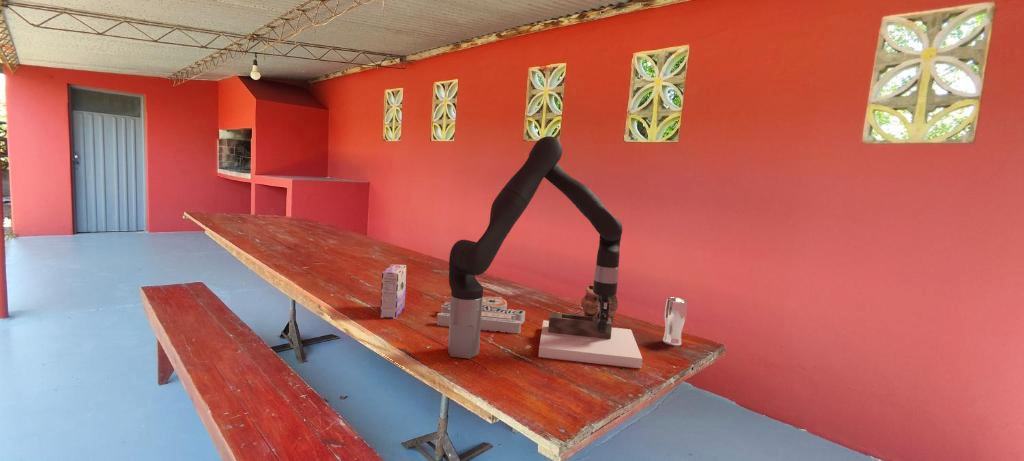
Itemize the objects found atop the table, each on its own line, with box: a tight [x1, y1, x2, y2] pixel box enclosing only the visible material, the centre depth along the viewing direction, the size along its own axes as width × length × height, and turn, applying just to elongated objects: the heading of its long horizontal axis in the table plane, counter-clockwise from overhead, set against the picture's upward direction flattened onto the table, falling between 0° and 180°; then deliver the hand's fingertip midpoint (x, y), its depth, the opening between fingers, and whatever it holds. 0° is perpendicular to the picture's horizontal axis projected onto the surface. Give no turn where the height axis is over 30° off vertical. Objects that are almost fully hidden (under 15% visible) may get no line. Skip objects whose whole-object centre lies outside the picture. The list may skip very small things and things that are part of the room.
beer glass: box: [662, 296, 688, 347], centre depth 166 cm, size 7×7×15 cm
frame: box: [548, 311, 613, 339], centre depth 161 cm, size 20×6×5 cm, turn 84°
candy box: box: [379, 263, 407, 320], centre depth 176 cm, size 14×6×16 cm, turn 0°
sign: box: [436, 296, 526, 334], centre depth 181 cm, size 30×4×30 cm
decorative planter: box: [580, 285, 619, 323], centre depth 180 cm, size 20×12×14 cm, turn 148°
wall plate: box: [538, 320, 643, 369], centre depth 157 cm, size 26×30×6 cm
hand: (600, 328), depth 160 cm, fingers open, 8 cm apart
